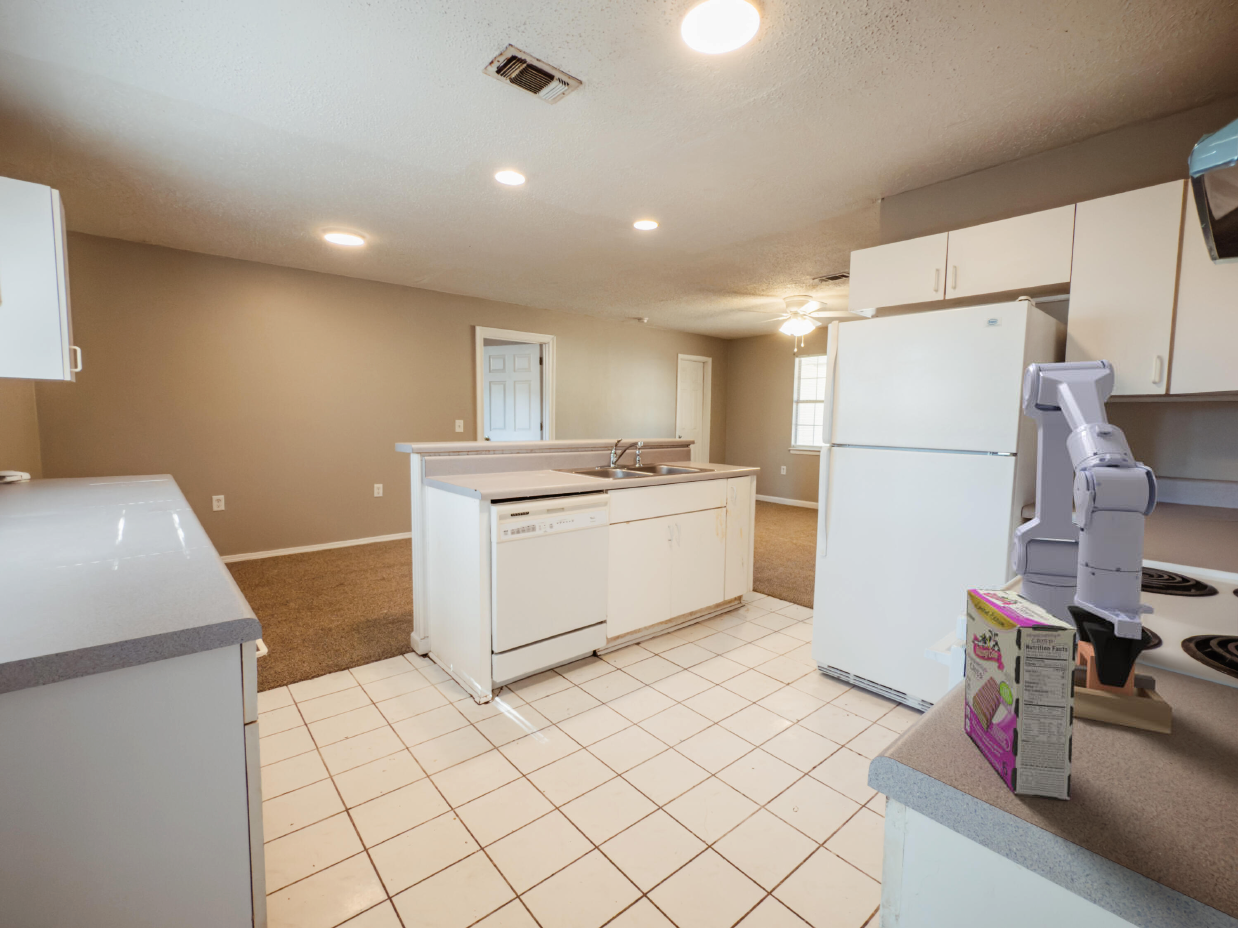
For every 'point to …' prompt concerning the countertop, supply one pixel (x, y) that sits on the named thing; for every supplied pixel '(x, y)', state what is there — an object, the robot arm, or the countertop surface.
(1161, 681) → the countertop surface
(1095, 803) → the countertop surface
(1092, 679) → the salmon notched block
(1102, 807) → the countertop surface
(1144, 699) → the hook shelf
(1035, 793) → the candy bar box
